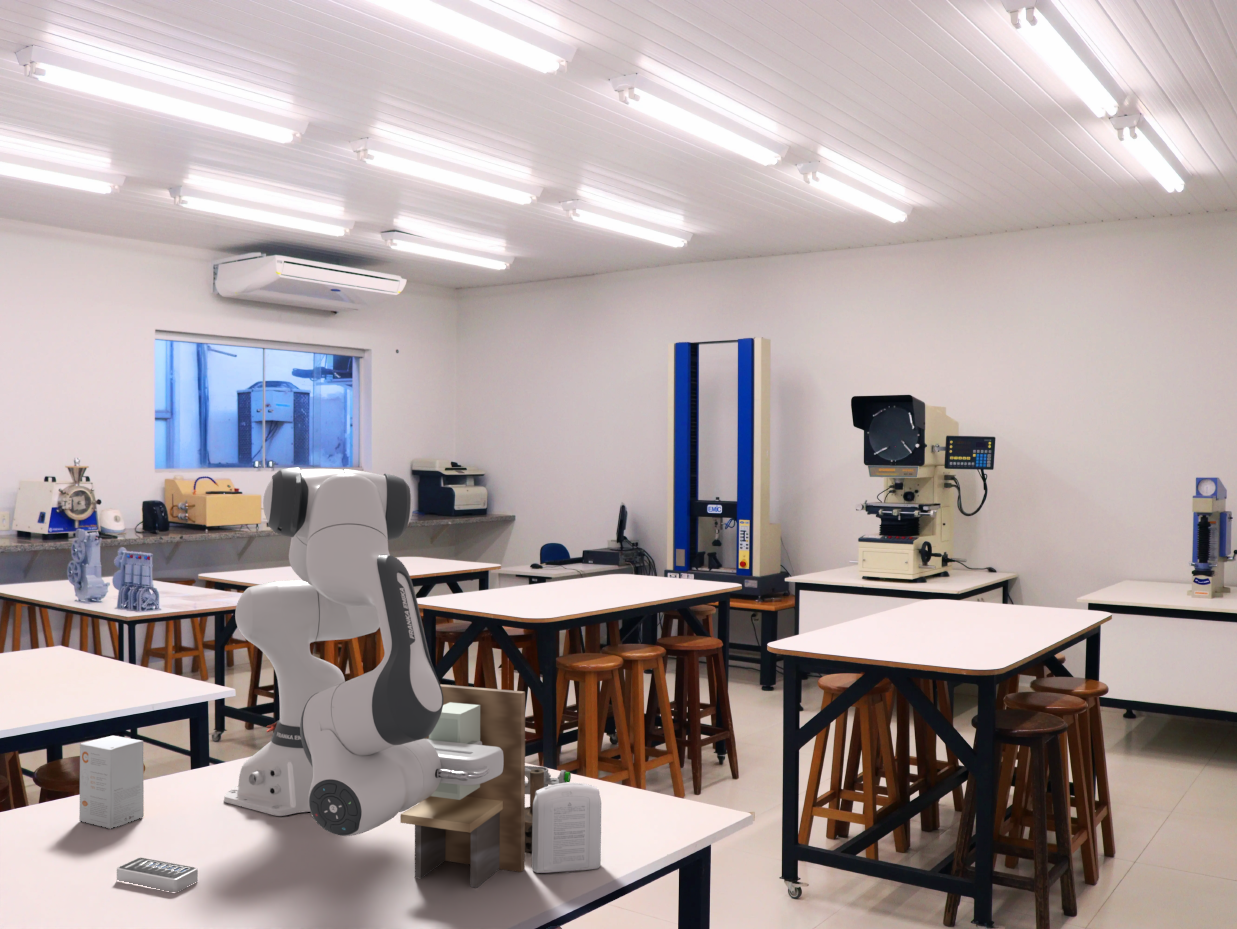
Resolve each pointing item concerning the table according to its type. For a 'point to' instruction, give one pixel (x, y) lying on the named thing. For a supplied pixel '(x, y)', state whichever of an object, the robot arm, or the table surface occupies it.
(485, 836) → the wooden toy chair
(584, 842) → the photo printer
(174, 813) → the table surface
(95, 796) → the small box
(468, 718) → the sage cabinet
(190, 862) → the table surface
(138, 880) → the multiport hub
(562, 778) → the mechanical component
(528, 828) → the industrial component
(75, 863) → the table surface
